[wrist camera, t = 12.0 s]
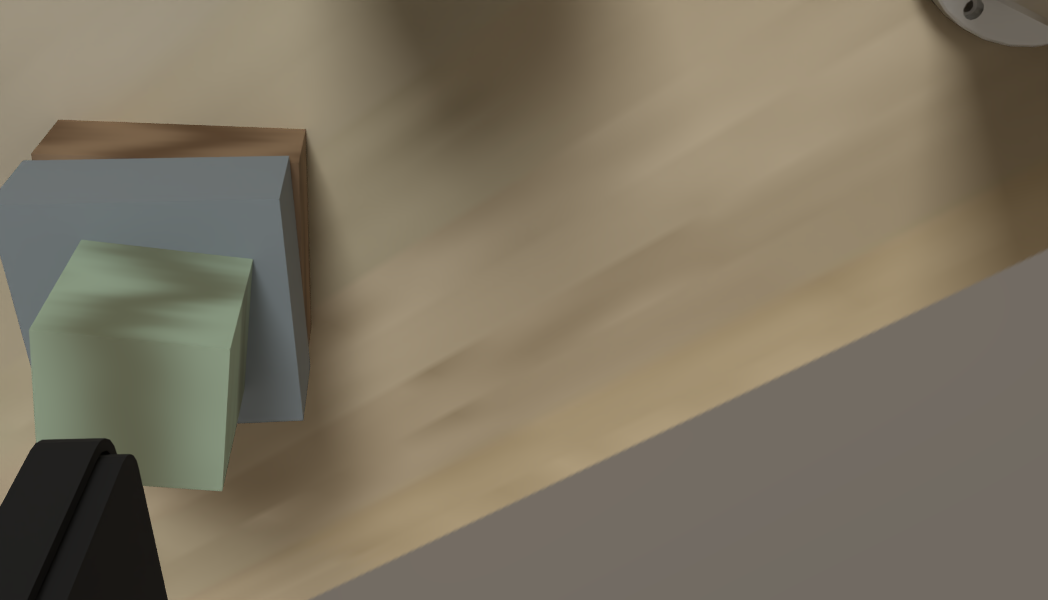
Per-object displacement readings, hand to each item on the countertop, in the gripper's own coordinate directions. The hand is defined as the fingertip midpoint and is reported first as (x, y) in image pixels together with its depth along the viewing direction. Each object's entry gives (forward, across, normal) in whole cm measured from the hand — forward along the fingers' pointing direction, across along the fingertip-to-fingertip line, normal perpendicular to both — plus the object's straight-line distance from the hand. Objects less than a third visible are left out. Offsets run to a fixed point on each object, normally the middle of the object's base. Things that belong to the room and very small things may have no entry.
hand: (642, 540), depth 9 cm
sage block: (+26, +12, +14) cm, 32 cm away
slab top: (+30, +13, +14) cm, 36 cm away
